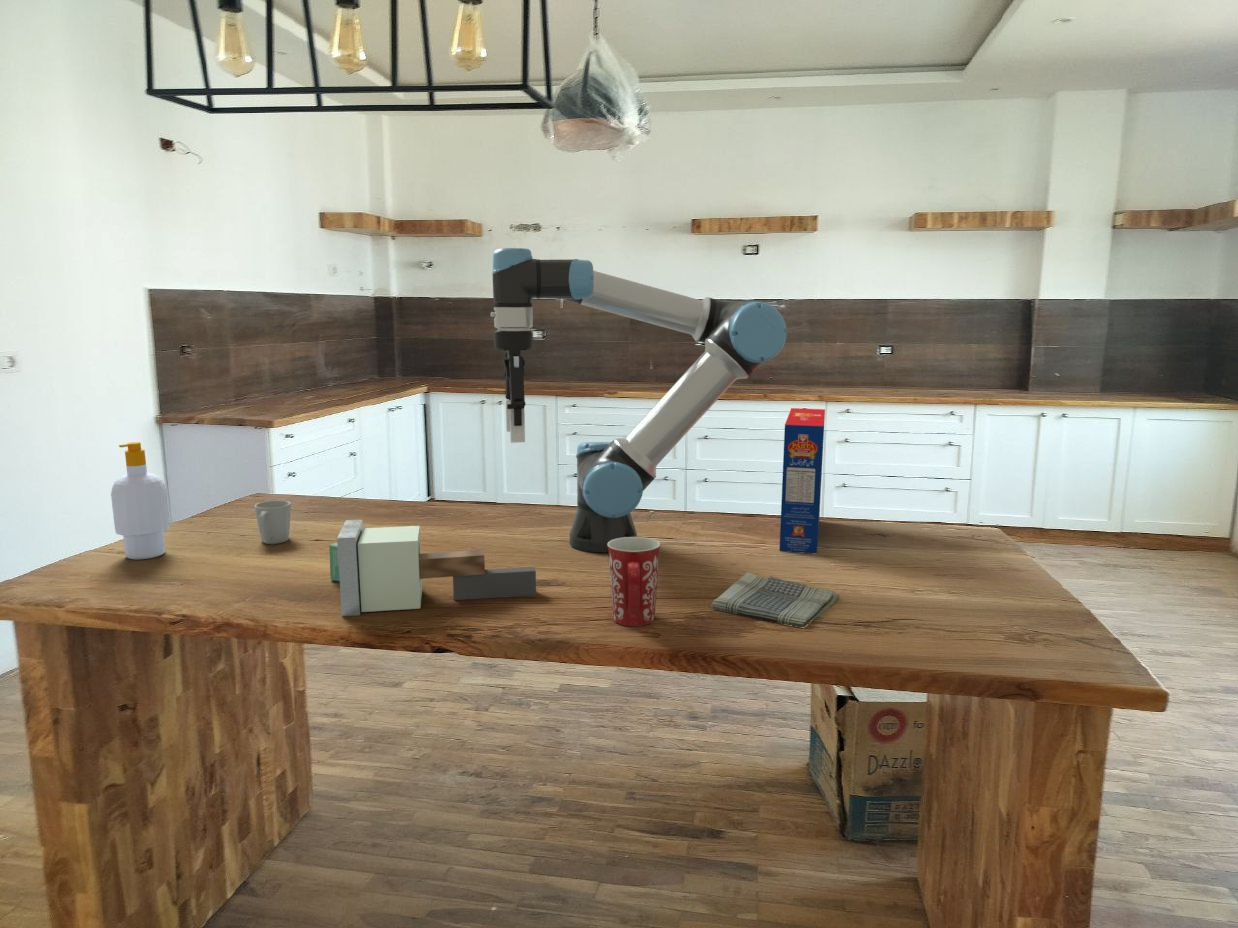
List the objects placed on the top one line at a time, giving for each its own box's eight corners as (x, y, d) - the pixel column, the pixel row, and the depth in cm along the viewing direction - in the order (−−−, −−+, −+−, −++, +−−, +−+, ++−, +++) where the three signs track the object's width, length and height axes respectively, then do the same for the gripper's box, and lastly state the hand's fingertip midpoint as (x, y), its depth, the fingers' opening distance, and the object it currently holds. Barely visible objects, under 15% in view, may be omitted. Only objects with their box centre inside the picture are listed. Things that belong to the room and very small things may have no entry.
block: (422, 589, 160) (419, 525, 158) (420, 608, 151) (417, 540, 148) (367, 592, 158) (363, 528, 156) (361, 611, 149) (357, 543, 146)
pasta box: (786, 519, 213) (791, 408, 208) (819, 521, 211) (825, 409, 206) (779, 551, 186) (784, 424, 181) (816, 553, 185) (823, 426, 179)
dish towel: (805, 633, 142) (806, 615, 142) (709, 611, 152) (709, 594, 151) (841, 600, 158) (842, 584, 157) (751, 582, 167) (752, 567, 167)
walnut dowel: (484, 568, 158) (483, 549, 158) (485, 574, 155) (484, 555, 154) (395, 574, 156) (394, 555, 155) (394, 580, 152) (393, 561, 151)
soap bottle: (106, 558, 178) (93, 445, 174) (149, 545, 188) (138, 437, 183) (141, 564, 175) (129, 448, 170) (184, 551, 184) (173, 440, 179)
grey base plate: (366, 591, 159) (362, 519, 157) (359, 615, 148) (355, 537, 145) (349, 592, 159) (345, 520, 156) (341, 616, 147) (336, 538, 145)
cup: (299, 536, 196) (296, 500, 194) (280, 549, 186) (277, 511, 184) (266, 535, 196) (263, 499, 195) (245, 548, 186) (242, 510, 185)
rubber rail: (534, 590, 161) (534, 566, 160) (536, 595, 158) (535, 570, 157) (453, 595, 158) (452, 571, 157) (453, 600, 155) (452, 575, 155)
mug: (608, 608, 152) (608, 535, 149) (659, 609, 151) (660, 536, 149) (603, 636, 139) (603, 557, 137) (659, 637, 139) (660, 558, 136)
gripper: (491, 327, 178) (493, 427, 182) (497, 332, 154) (499, 447, 158) (527, 327, 180) (528, 426, 184) (538, 332, 156) (540, 446, 160)
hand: (515, 436), depth 171 cm, fingers open, 13 cm apart
